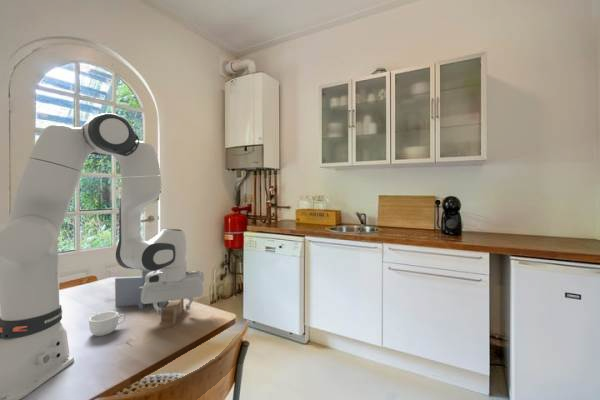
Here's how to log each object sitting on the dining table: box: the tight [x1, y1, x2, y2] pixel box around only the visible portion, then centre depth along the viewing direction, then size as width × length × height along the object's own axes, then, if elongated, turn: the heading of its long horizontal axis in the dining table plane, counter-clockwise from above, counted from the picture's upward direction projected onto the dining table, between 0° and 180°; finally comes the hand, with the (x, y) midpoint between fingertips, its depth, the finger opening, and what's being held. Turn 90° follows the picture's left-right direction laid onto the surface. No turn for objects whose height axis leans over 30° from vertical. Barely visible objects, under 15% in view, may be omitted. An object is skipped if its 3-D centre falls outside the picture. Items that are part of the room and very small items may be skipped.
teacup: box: [88, 310, 126, 337], centre depth 92 cm, size 10×8×5 cm
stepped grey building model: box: [114, 270, 169, 309], centre depth 113 cm, size 6×19×18 cm, turn 99°
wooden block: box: [160, 299, 185, 329], centre depth 102 cm, size 16×4×6 cm, turn 9°
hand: (173, 311), depth 101 cm, fingers open, 8 cm apart
